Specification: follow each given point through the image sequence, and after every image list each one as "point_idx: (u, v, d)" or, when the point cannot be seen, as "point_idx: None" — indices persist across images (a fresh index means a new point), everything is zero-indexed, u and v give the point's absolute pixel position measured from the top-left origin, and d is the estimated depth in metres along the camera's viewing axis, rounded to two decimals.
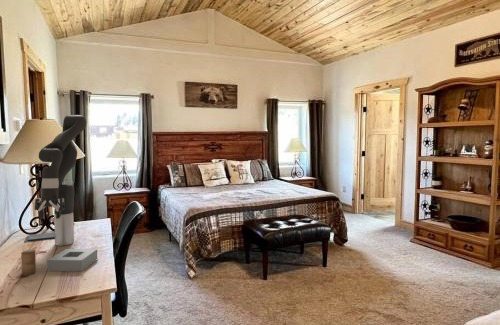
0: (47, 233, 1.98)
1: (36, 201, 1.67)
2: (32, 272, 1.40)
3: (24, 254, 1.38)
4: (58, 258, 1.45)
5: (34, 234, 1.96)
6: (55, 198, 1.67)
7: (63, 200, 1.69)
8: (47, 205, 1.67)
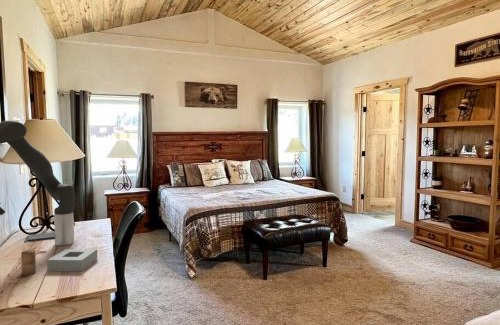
0: (47, 233, 1.98)
1: None
2: (32, 272, 1.40)
3: (24, 254, 1.38)
4: (58, 258, 1.45)
5: (34, 234, 1.96)
6: None
7: None
8: None
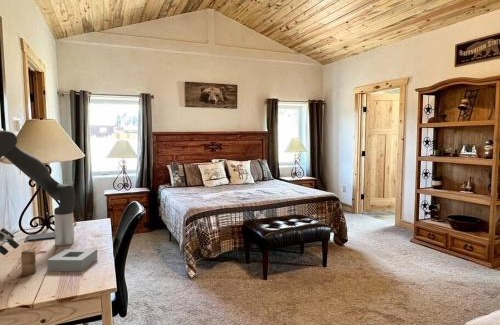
0: (47, 233, 1.98)
1: None
2: (32, 272, 1.40)
3: (24, 254, 1.38)
4: (58, 258, 1.45)
5: (34, 234, 1.96)
6: None
7: None
8: None
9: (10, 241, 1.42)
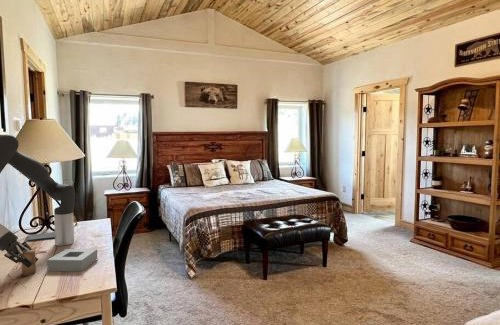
0: (47, 233, 1.98)
1: None
2: (32, 272, 1.40)
3: (24, 254, 1.38)
4: (58, 258, 1.45)
5: (34, 234, 1.96)
6: (6, 250, 1.35)
7: (8, 254, 1.33)
8: None
9: None
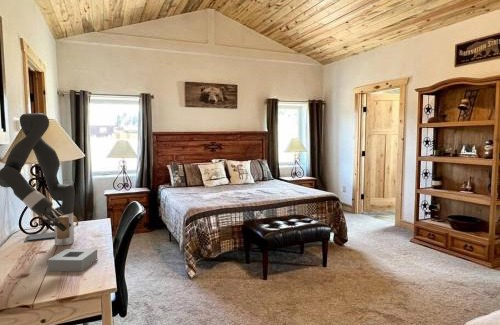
0: (47, 233, 1.98)
1: None
2: (66, 236, 1.47)
3: (59, 219, 1.45)
4: (58, 258, 1.45)
5: (34, 234, 1.96)
6: (43, 215, 1.43)
7: (45, 218, 1.40)
8: None
9: None
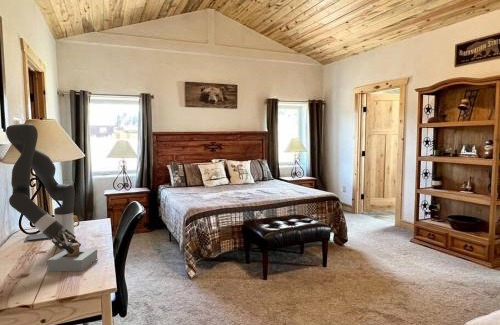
0: None
1: None
2: None
3: None
4: (58, 258, 1.45)
5: (34, 234, 1.96)
6: (54, 238, 1.46)
7: (55, 240, 1.43)
8: None
9: (73, 241, 1.54)
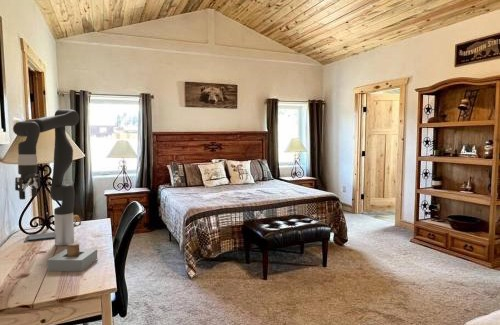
0: (47, 233, 1.98)
1: None
2: None
3: (70, 247, 1.48)
4: (58, 258, 1.45)
5: (34, 234, 1.96)
6: None
7: (18, 179, 1.48)
8: None
9: (34, 189, 1.59)
